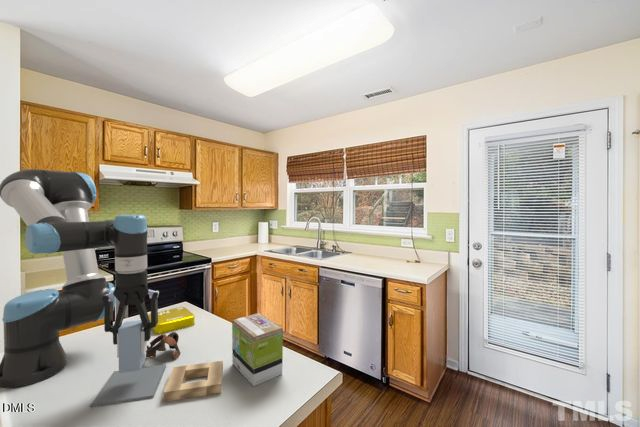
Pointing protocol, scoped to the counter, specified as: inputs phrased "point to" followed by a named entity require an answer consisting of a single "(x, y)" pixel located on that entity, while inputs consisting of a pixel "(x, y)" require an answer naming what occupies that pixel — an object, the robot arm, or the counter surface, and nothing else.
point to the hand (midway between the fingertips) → (132, 353)
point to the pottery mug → (170, 340)
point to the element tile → (173, 320)
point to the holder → (194, 389)
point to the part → (130, 346)
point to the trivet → (130, 386)
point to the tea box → (257, 348)
